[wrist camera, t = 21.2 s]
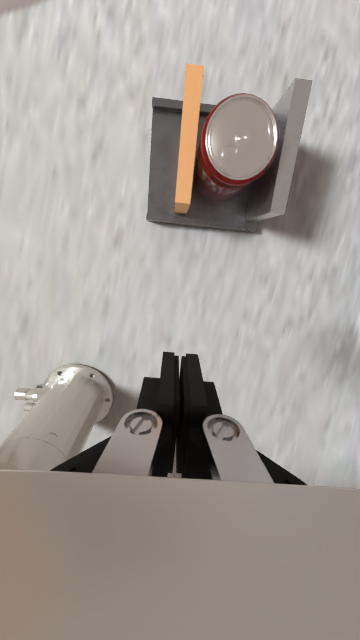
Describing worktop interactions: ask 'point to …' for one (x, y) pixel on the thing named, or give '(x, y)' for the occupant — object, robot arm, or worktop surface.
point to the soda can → (235, 146)
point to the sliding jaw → (188, 136)
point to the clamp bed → (249, 204)
